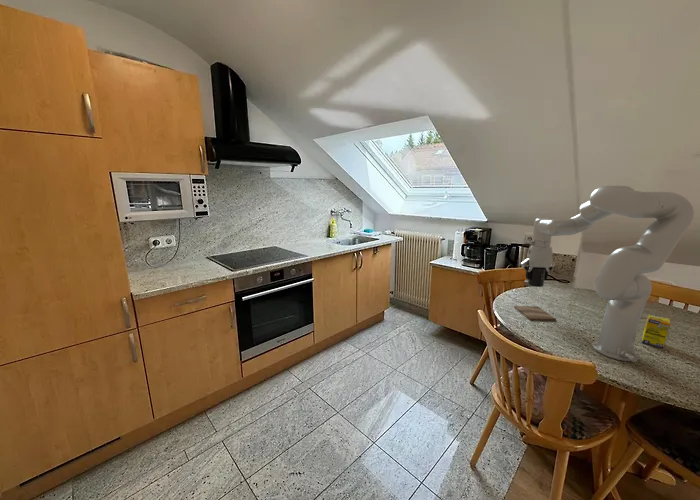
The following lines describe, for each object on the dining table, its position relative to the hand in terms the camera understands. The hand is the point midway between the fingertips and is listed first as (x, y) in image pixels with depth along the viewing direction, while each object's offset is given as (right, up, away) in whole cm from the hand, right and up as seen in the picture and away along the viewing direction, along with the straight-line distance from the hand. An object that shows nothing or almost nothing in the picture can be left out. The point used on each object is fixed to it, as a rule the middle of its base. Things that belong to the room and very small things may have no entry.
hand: (536, 278), depth 139 cm
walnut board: (-1, -17, 0) cm, 17 cm away
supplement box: (+30, -24, -26) cm, 46 cm away
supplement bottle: (0, -3, +1) cm, 3 cm away
